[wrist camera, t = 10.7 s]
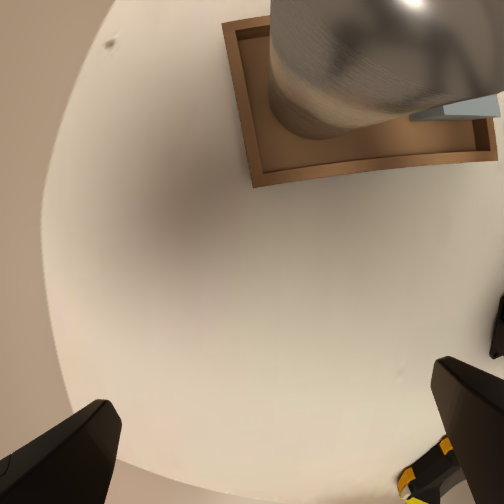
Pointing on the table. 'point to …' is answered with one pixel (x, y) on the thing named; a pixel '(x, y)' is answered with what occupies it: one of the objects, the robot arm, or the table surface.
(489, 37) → the metal cylinder
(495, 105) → the pale grey cube
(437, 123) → the walnut tray
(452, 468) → the gaming controller
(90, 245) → the table surface
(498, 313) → the robot arm
